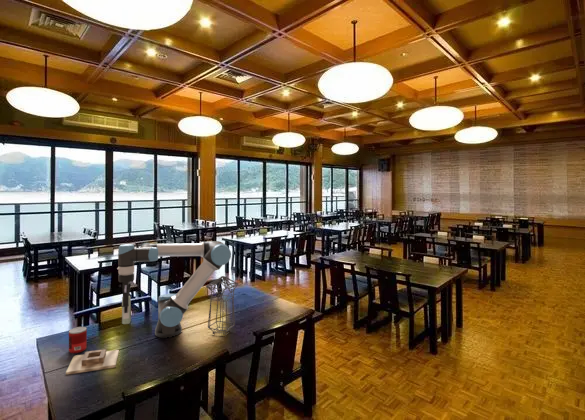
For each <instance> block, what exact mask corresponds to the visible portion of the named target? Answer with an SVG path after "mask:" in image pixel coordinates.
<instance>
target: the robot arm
mask: <svg viewBox="0 0 585 420" xmlns="http://www.w3.org/2000/svg"><path fill="white" fill-rule="evenodd" d="M117 251H118V253H117V257H118V258H117V261H118V263H117V264H118V267H117V268H116V269H117V270H118V271H117V272H118V276H117V277H118V282H119V283H122V285H121V289H122V290H121V292H122V297H123V306H122V305H121V308H122V307H123V319H127V318H129V296H130V297H131V293H130V292H131V282H133V281H134V280H135V263H142V262H156V261H158V260H159V257H201V258H203V260H202V262H201V263H200V265H199V266H198V267H197V268H196V270H195V271H194V272H193V273H192V275H191V276H190V277H189V278H188V280H187V281H186V282H185V283H184V285H183V286H182V287H181V288H180V289H179V291H178V292H177V293H167V294H166V293H165V294H161V295H159V296H158V300H157V301H158V306H157V307H158V308H157V309H158V311H157V313H158V314H157V316H158V318H157V319H158V321H157V323H156V327H155V328H154V335H155V336H156V337H158V338H162V339H163V338H164V339H167V337H169V338H173V337H172V336H174V337H176V336H175V335H177V336H178V334H179V333H180V334H181V333H182V332H181V331H183V329H182V328H183V326H182V324H181V322H182V320H183V316H184V314H185V313H186V312H187V310H188V309H189V306H188V305H189V304H190V303H191V301H192V300H193V299H194V298H195V296H196V295H197V294H198V292H199V291H200V290H201V289H202V287H203V286H204V285H205V284H206V283H207V281H208V280H209V278H210V277H212V275H213V274H214V272H215V271H220V269H221V268H222V267H223V266H224V265H226V264H228V263H229V261H230V260H231V257H232V252H231V250H230V247H229V246H228V245H227V244H225V243H224V242H221V241H218V240H214V241H213V240H212V241H201V242H200V243H197V242H196V243H150V242H144V243H143V244H141V245H140V247H135V245H134V244H133V243H124V244H120V245H119V246H118V249H117ZM130 303H132V300H130ZM180 334H179V335H180Z"/></svg>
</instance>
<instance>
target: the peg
mask: <svg viewBox="0 0 585 420" xmlns="http://www.w3.org/2000/svg"><path fill="white" fill-rule="evenodd" d="M130 301H131V295H130V296H129V318H127V319H123V307H122V306H123V296H122V297H121V324H123V325H128V324H131V322H132V321H131V314H132V313H131V302H130Z"/></svg>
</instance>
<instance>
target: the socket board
mask: <svg viewBox="0 0 585 420" xmlns="http://www.w3.org/2000/svg"><path fill="white" fill-rule="evenodd" d="M119 353H120V350H119V349H115V350H107V349H106V348H105V349H96V350H89V351H84V354H77V355H74V356H73V357H72V359H71V361H70V363H69V365H68V368H67V369H66V371H65V375H73V374H81V373H86V372H92V371H100V370H106V369H113V368H116V366H117V362H118V357H119Z"/></svg>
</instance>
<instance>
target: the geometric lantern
mask: <svg viewBox="0 0 585 420" xmlns="http://www.w3.org/2000/svg"><path fill="white" fill-rule="evenodd" d="M217 285H218V286H217ZM220 285H222V286H223V287H224V288H220ZM238 286H239V282H236V281H234V280H233V279H231V278H229V277H227V276H225V275H221V276H220V277H218V278H217V279H215V280H212V282H209V284H207V285H205V287H206V288H207V289H209V290H210V302H209V309H208V310H209V311H208V318H207V319H208V321H207V328H208V329H210V331H211V332H212V334H214V335H215V333H219V334H222V336H223V335H224V336H225V335H227V334H226V333H227V332H229V330H230V331H231V329H232V328H233V327H234V326H235V325H236V323H235V321H236V320H235V318H236V317H235V304H234V303H235V302H234V298H235V289H236V288H237V287H238ZM227 290H228V292H229V293H228V294H227V295H226V294H224V292H225V291H227ZM214 294H216V295H215V296H214ZM222 296H225V297H226V298H225V299H223V297H222ZM229 296H230V297H231V298H229V299H228V297H229ZM216 297H217V299H215V301H217V302H216V303H217V305H216V312H215V313H216V316H215V322H213V323H212V324H211V317H212V301H214V298H216ZM227 299H228V300H227ZM231 300H232V302H231V303H232V305H231V306H232V307H231V309H232V310H231V311H232V314H231V317H232V322H230V321H229V322H228V305H227V304H228V303H227V302H228V301H231ZM221 301H222V302H221ZM219 302H220V303H219ZM224 302H225V305H224ZM219 304H220V307H219ZM224 306H225V307H224ZM218 308H219V309H220V310H219V320H217V319H218ZM224 308H225V319H226V320H225V321H224V312H222V309H224ZM221 316H222V317H221ZM215 324H216V328H212V326H213V325H215ZM218 324H219V326H218ZM221 324H222V325H221ZM224 324H225V325H226V327H225V326H224ZM228 324H231V325H230V326H229V327H228ZM219 328H220V330H219ZM221 328H222V329H221ZM217 330H218V331H217ZM226 330H227V331H226ZM216 331H217V332H216Z"/></svg>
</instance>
